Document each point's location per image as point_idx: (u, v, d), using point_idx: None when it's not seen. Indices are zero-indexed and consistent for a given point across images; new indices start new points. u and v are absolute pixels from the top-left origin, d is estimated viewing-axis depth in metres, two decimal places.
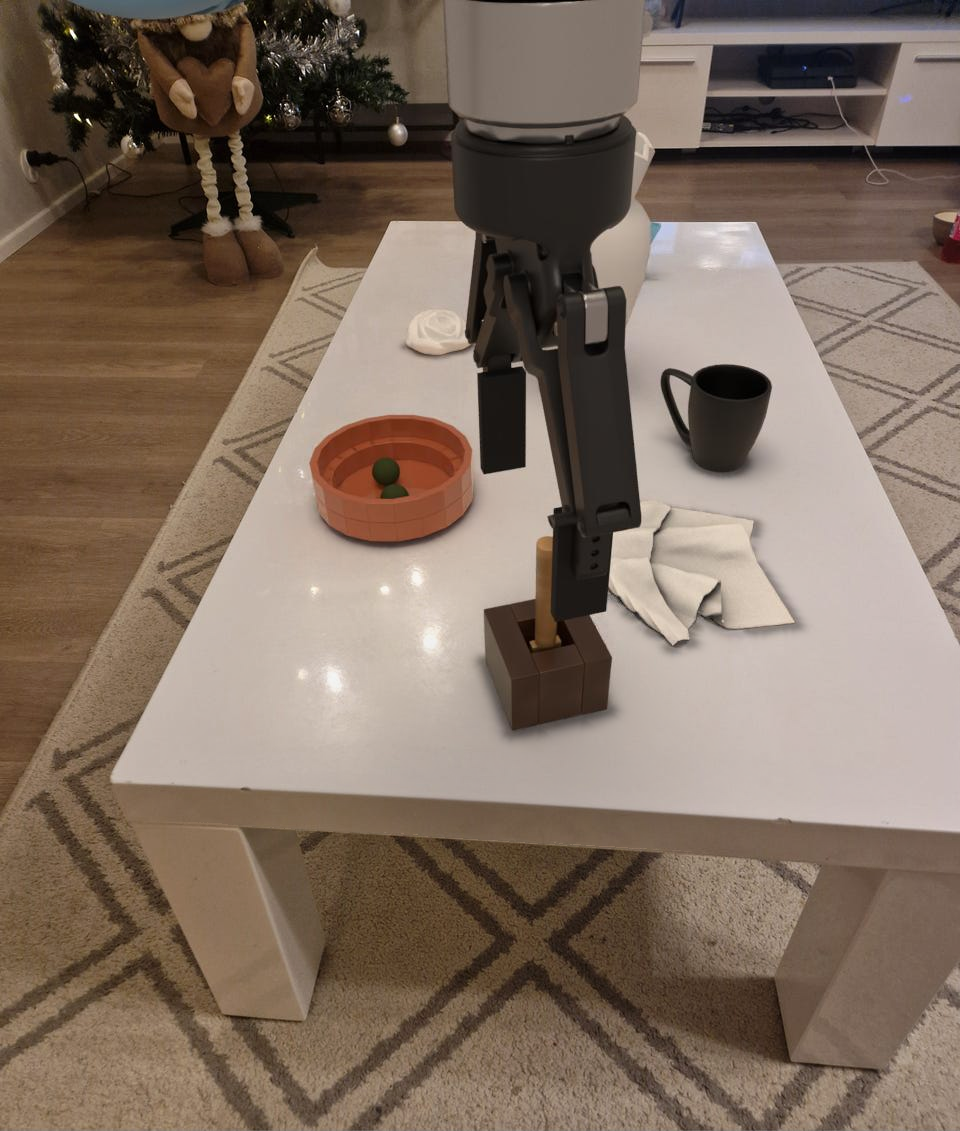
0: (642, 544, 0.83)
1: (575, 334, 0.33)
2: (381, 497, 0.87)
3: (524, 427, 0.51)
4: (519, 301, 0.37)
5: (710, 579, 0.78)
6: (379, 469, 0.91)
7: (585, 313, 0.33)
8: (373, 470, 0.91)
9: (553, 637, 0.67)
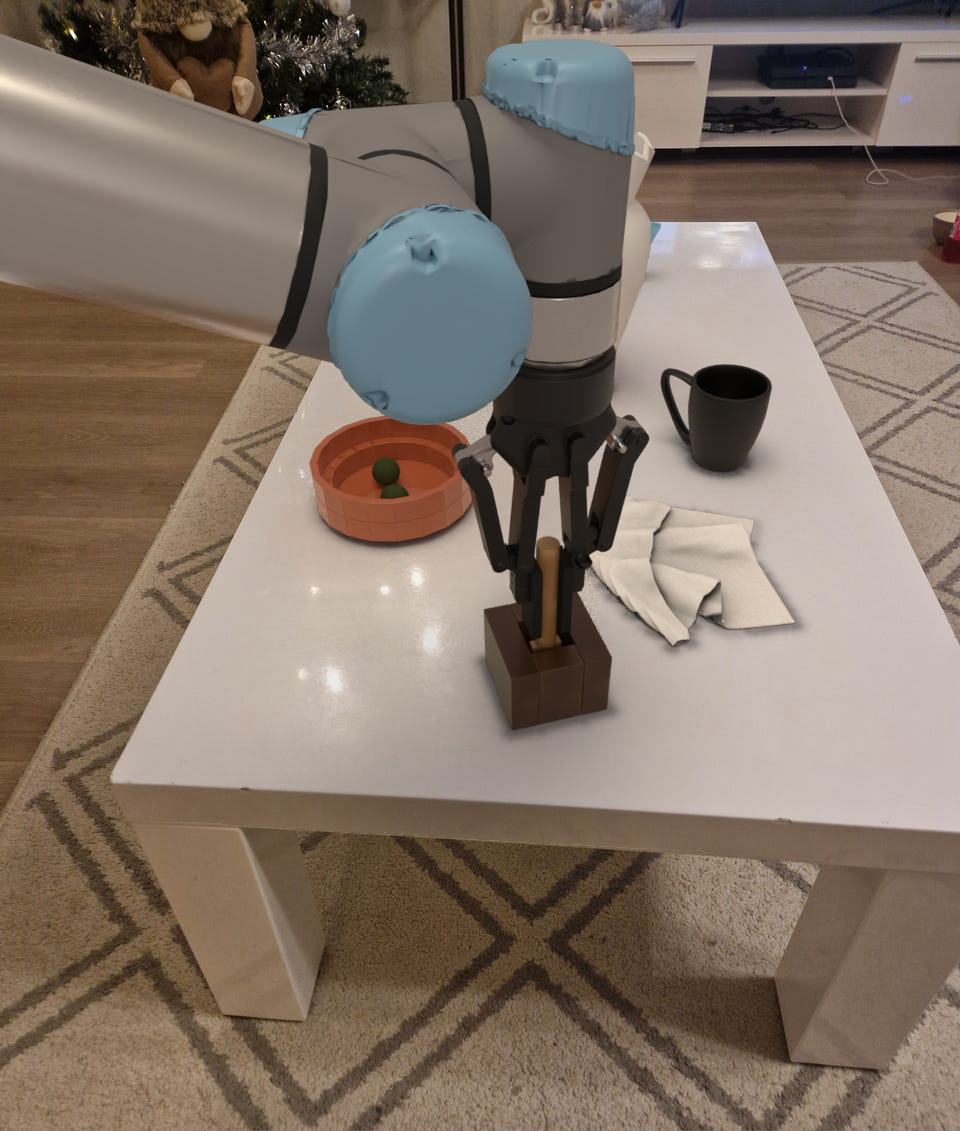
0: (642, 544, 0.83)
1: None
2: (381, 497, 0.87)
3: None
4: (587, 452, 0.55)
5: (710, 579, 0.78)
6: (379, 469, 0.91)
7: None
8: (373, 470, 0.91)
9: (553, 637, 0.67)
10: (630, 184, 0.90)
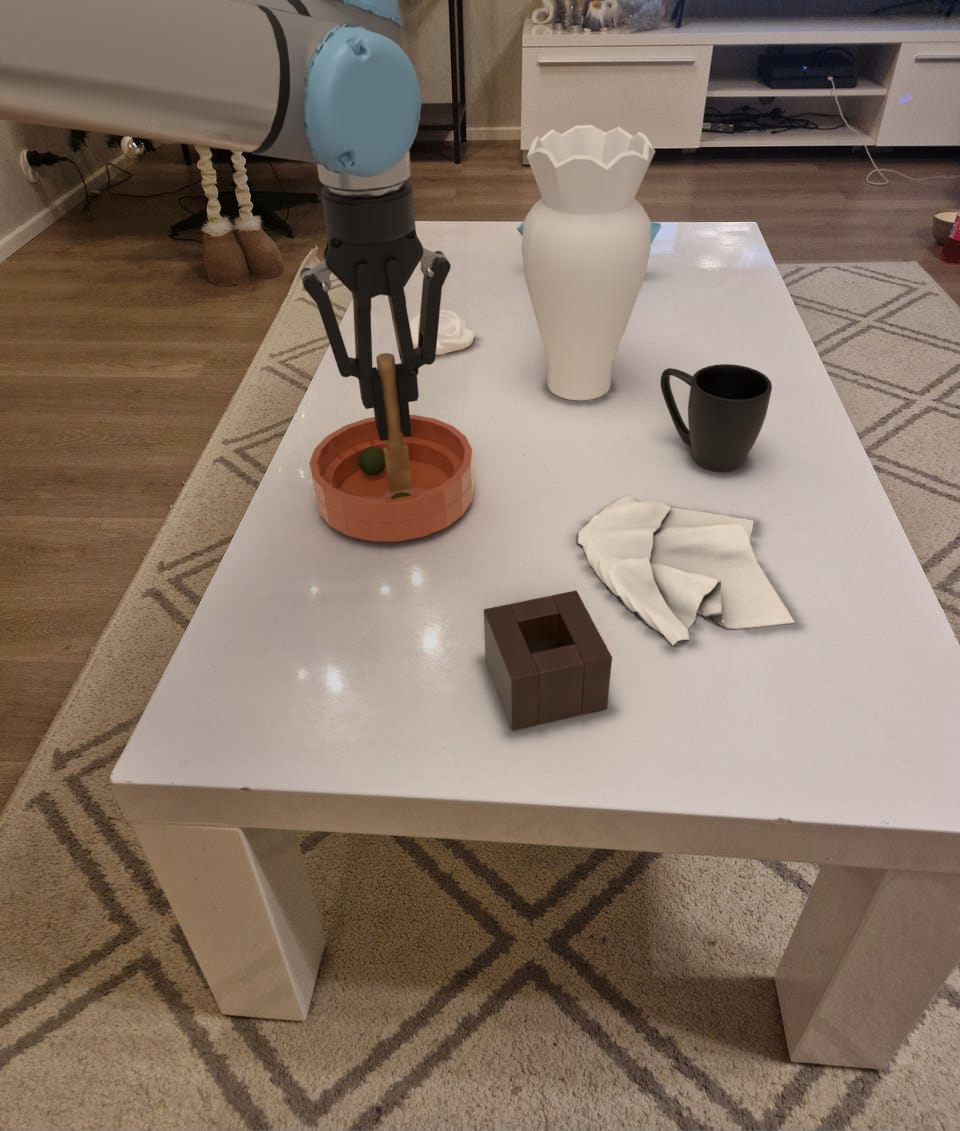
0: (642, 544, 0.83)
1: None
2: None
3: None
4: (400, 272, 0.74)
5: (710, 579, 0.78)
6: None
7: None
8: (360, 467, 0.94)
9: (399, 441, 0.85)
10: (630, 184, 0.90)
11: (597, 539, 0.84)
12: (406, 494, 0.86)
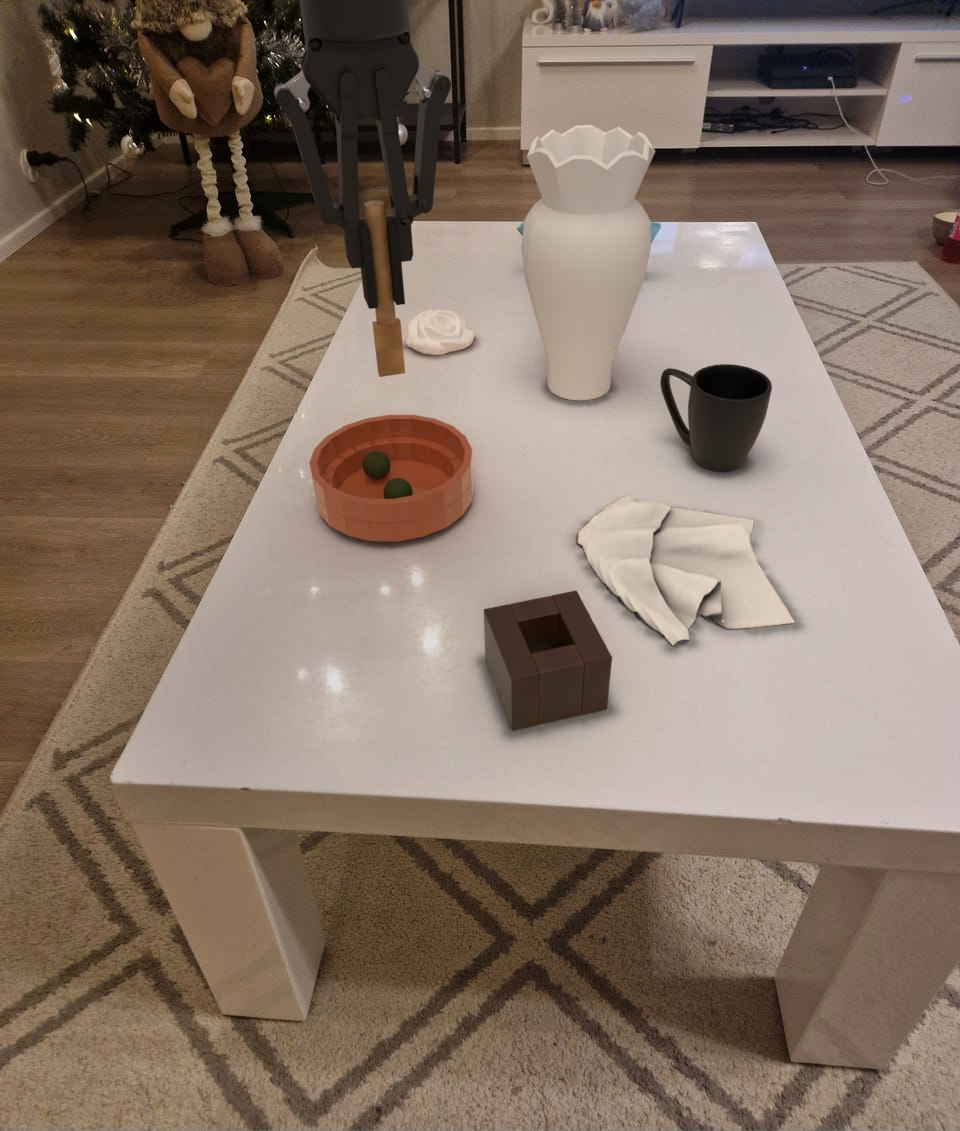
0: (642, 544, 0.83)
1: None
2: (385, 485, 0.89)
3: None
4: (392, 88, 0.62)
5: (710, 579, 0.78)
6: (364, 459, 0.92)
7: None
8: (363, 468, 0.93)
9: (390, 312, 0.74)
10: (630, 184, 0.90)
11: (597, 539, 0.84)
12: None
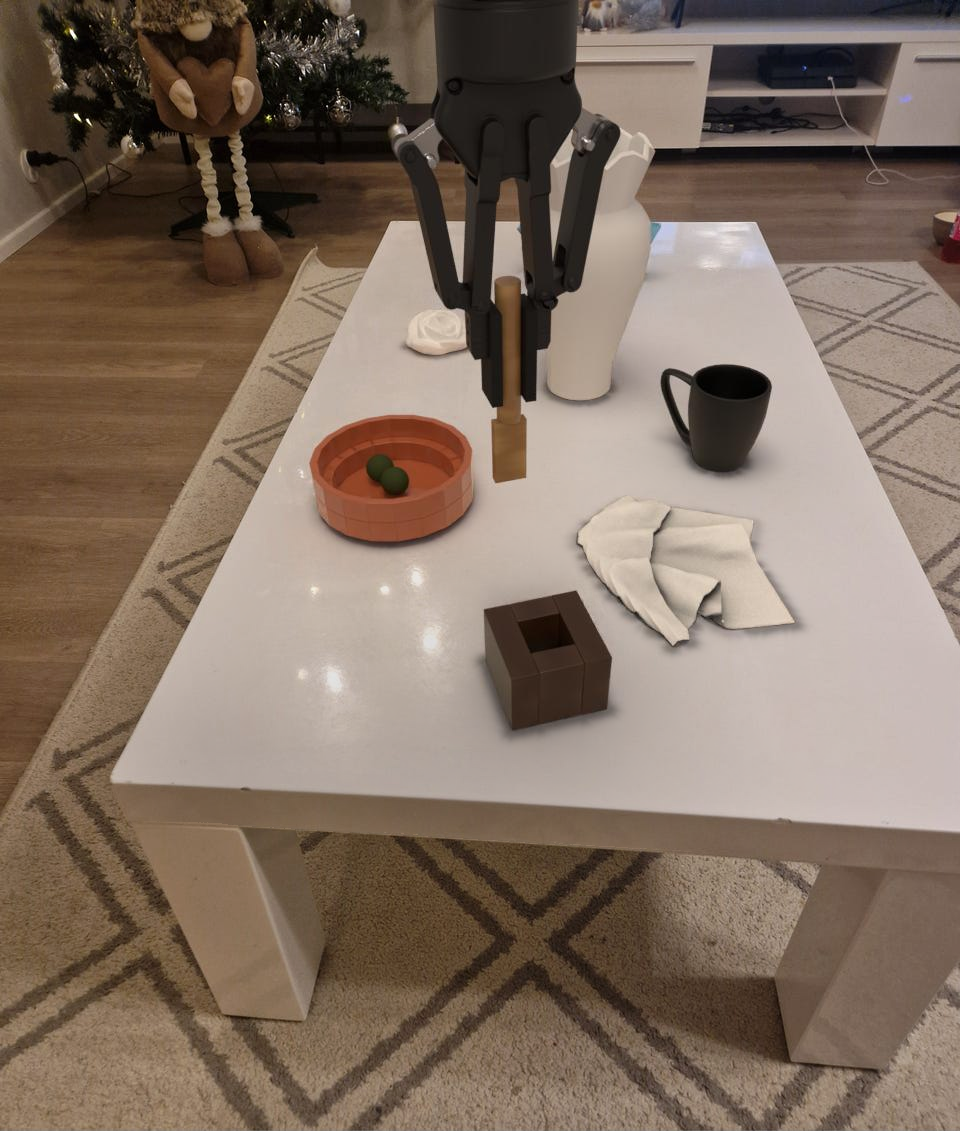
0: (642, 544, 0.83)
1: None
2: None
3: None
4: (548, 140, 0.48)
5: (710, 579, 0.78)
6: (369, 462, 0.91)
7: None
8: (366, 468, 0.92)
9: (517, 409, 0.59)
10: (630, 184, 0.90)
11: (597, 539, 0.84)
12: None
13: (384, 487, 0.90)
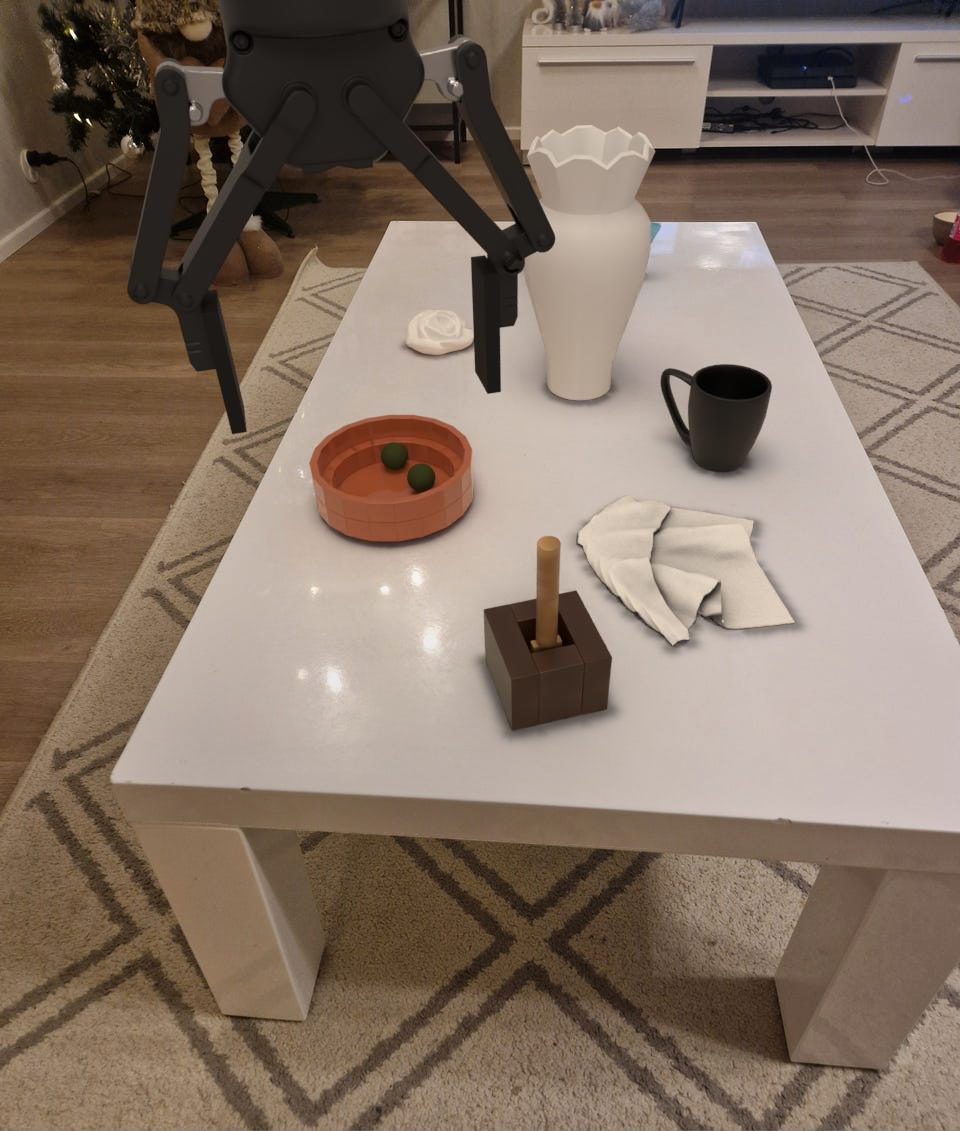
0: (642, 544, 0.83)
1: None
2: None
3: (232, 358, 0.44)
4: (384, 102, 0.36)
5: (710, 579, 0.78)
6: None
7: None
8: None
9: (554, 636, 0.67)
10: (630, 184, 0.90)
11: (597, 539, 0.84)
12: (407, 480, 0.91)
13: (425, 473, 0.90)
